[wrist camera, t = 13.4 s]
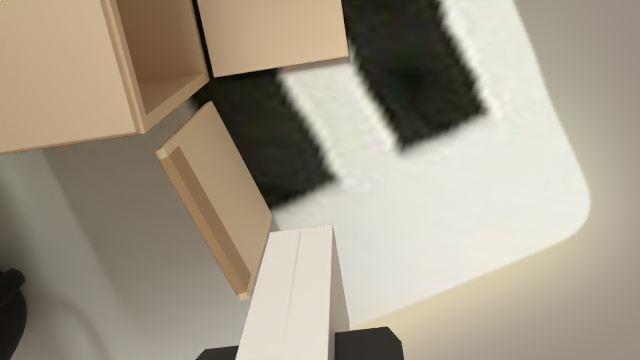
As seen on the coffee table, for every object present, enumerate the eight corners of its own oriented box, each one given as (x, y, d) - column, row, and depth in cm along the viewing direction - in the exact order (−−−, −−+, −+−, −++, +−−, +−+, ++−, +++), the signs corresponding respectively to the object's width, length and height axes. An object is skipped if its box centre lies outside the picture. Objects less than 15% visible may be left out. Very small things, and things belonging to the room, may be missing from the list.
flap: (273, 216, 36) (250, 298, 27) (266, 219, 36) (240, 302, 27) (212, 100, 34) (163, 147, 25) (204, 103, 34) (154, 152, 25)
